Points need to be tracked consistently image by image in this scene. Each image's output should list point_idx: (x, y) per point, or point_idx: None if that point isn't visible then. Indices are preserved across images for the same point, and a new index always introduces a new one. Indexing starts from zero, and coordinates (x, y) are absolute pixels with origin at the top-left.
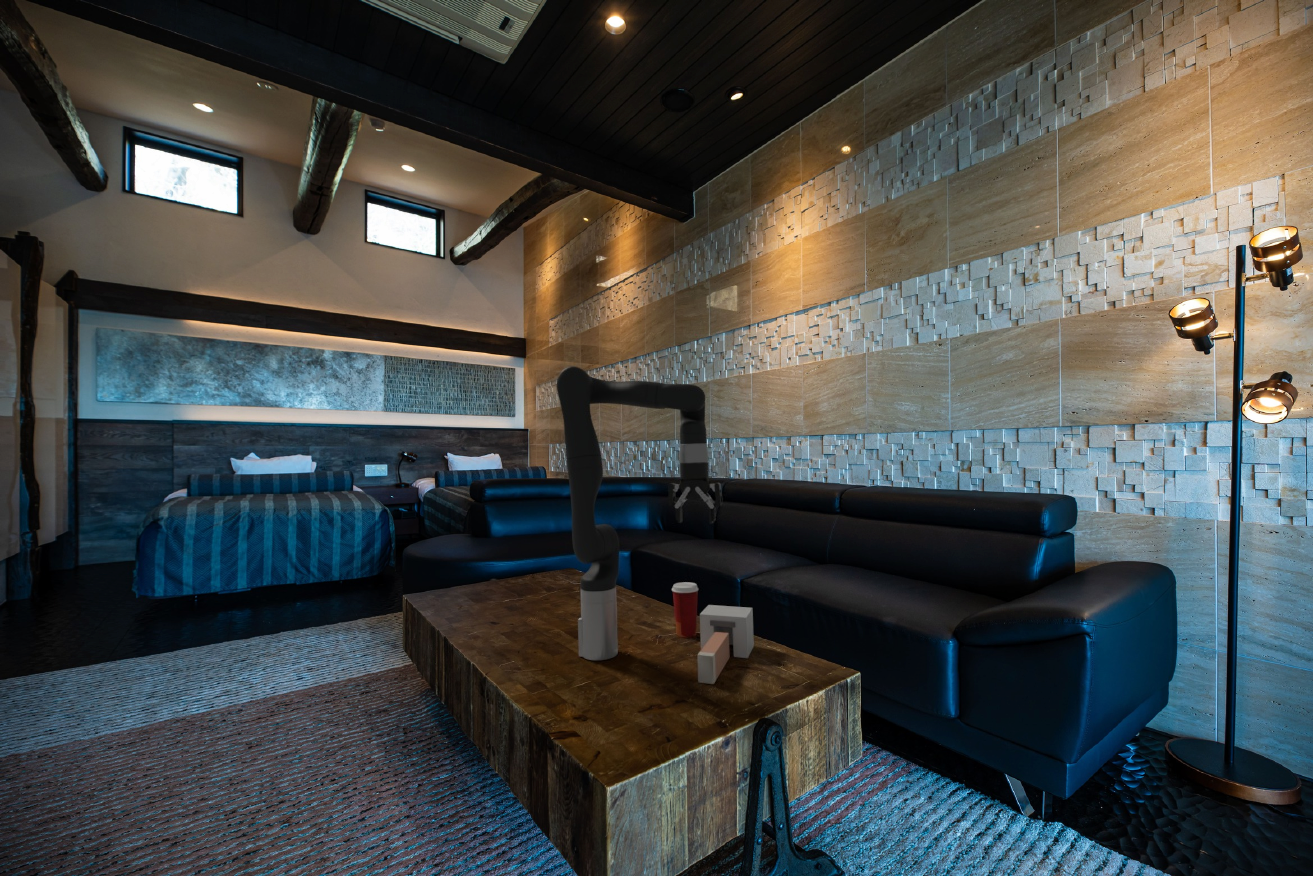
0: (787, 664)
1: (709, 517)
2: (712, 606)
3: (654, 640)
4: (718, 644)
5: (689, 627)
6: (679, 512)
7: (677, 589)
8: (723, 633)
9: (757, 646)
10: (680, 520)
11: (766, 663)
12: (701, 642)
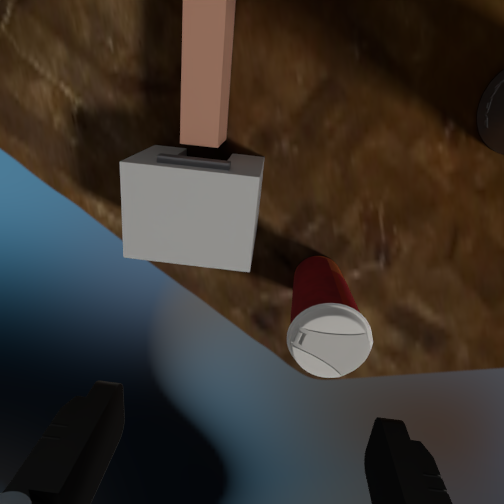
0: (65, 122)
1: (96, 415)
2: (235, 258)
3: (389, 229)
4: (188, 36)
5: (307, 266)
6: (410, 501)
7: (350, 314)
8: (192, 136)
9: None
10: (381, 432)
11: (109, 120)
12: (261, 161)
